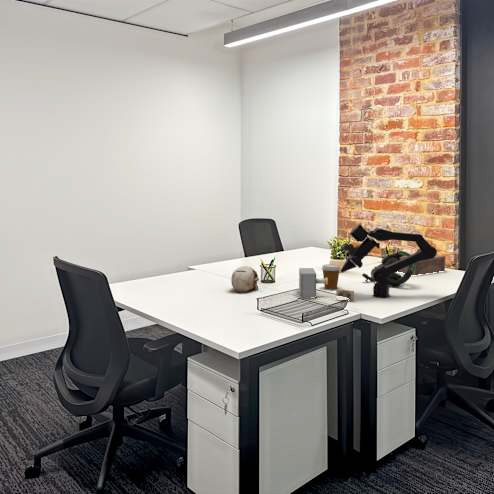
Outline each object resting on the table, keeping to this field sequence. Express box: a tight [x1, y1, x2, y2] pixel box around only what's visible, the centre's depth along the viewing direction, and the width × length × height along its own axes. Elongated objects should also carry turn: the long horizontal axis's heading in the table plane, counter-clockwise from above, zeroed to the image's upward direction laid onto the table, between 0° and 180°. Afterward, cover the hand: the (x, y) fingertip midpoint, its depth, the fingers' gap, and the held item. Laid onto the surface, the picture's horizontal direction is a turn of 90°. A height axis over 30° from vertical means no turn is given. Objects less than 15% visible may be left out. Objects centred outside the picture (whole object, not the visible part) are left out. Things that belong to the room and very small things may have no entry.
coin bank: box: [231, 265, 260, 293], centre depth 270 cm, size 16×17×13 cm
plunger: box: [316, 278, 328, 285], centre depth 254 cm, size 6×3×3 cm, turn 88°
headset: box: [361, 250, 415, 287], centre depth 280 cm, size 18×14×29 cm
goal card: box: [335, 288, 355, 303], centre depth 244 cm, size 8×1×5 cm, turn 63°
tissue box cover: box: [398, 254, 446, 275], centre depth 318 cm, size 26×14×10 cm, turn 120°
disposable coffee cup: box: [321, 263, 341, 290], centre depth 273 cm, size 10×10×12 cm
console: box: [298, 267, 317, 299], centre depth 258 cm, size 8×16×12 cm, turn 178°
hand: (341, 271), depth 253 cm, fingers closed
